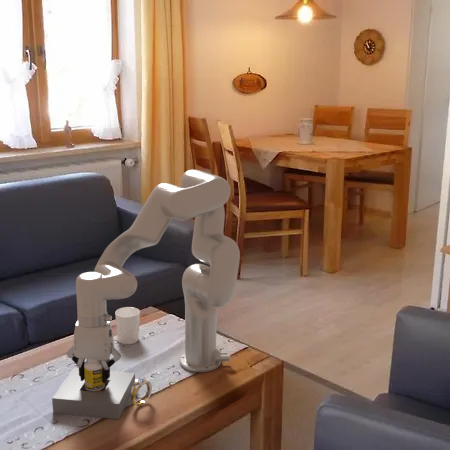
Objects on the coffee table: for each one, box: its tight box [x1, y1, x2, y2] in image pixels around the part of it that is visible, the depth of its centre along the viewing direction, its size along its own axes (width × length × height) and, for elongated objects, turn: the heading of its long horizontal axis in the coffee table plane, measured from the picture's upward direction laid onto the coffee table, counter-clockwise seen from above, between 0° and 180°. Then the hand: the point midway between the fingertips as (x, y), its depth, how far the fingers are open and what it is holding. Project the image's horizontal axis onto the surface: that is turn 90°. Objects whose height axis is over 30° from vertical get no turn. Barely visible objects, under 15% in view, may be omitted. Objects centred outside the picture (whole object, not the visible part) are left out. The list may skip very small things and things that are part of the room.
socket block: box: [51, 367, 136, 420], centre depth 173 cm, size 18×16×4 cm
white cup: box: [115, 306, 141, 345], centre depth 207 cm, size 8×8×10 cm
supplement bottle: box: [84, 359, 105, 391], centre depth 171 cm, size 5×5×10 cm
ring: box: [130, 377, 153, 407], centre depth 171 cm, size 7×3×8 cm, turn 137°
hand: (94, 378), depth 172 cm, fingers closed on supplement bottle, 5 cm apart
